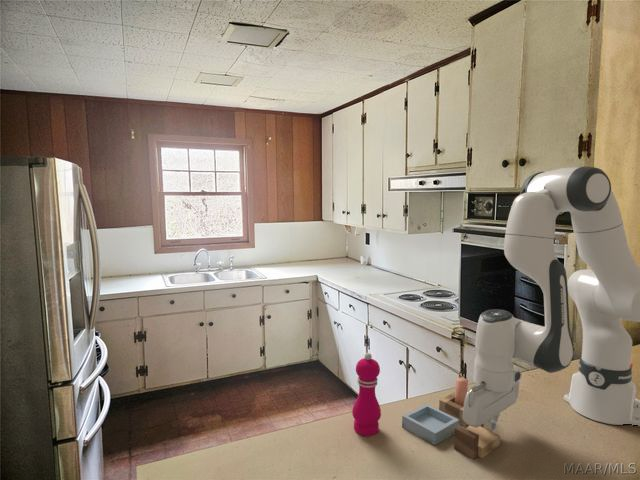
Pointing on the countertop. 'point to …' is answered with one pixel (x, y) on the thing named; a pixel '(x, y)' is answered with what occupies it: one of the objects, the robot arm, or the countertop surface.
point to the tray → (430, 423)
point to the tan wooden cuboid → (485, 440)
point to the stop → (466, 442)
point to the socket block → (452, 408)
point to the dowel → (461, 391)
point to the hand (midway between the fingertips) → (489, 430)
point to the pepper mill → (367, 397)
